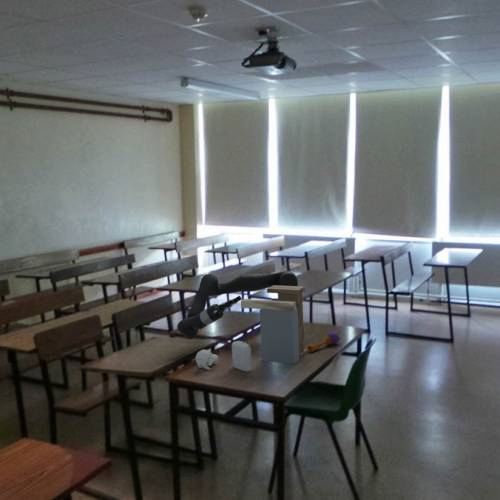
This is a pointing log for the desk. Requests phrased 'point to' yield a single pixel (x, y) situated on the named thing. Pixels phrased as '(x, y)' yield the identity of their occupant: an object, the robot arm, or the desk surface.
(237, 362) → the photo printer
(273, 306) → the wooden batten
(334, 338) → the kendama
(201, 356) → the white rabbit figurine
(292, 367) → the desk surface
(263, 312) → the grey block
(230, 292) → the robot arm
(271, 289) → the tan tall block
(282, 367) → the desk surface
